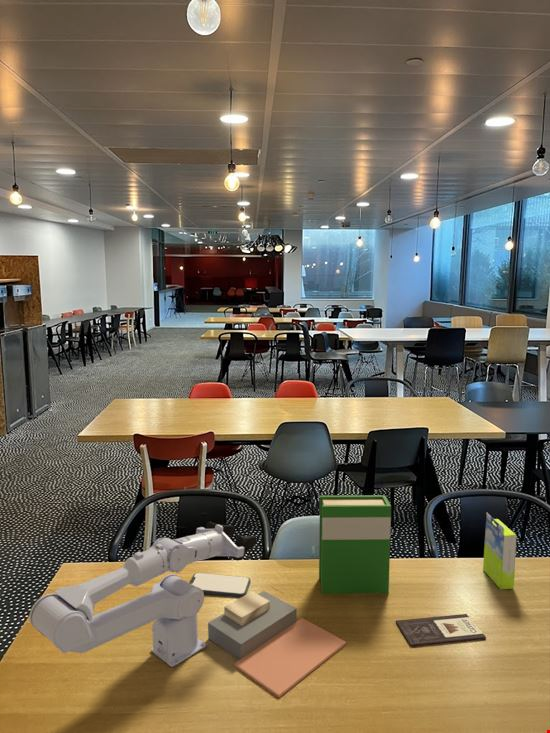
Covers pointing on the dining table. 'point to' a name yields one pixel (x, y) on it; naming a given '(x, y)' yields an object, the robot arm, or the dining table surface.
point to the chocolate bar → (439, 630)
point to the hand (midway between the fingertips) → (243, 535)
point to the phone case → (221, 584)
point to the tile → (247, 608)
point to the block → (252, 628)
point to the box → (499, 553)
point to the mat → (289, 656)
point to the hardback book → (354, 544)
